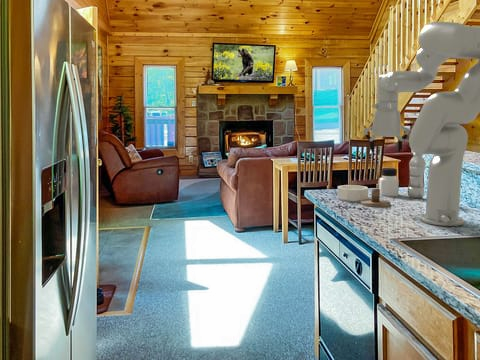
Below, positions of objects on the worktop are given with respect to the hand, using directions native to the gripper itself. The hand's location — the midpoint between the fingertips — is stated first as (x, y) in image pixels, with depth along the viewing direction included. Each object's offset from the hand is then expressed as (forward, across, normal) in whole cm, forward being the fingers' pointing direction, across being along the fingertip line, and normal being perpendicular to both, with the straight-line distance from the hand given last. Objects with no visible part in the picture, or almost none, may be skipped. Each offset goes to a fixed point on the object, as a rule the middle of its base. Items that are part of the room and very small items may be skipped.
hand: (385, 151), depth 157 cm
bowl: (+20, -12, +6) cm, 24 cm away
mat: (+20, -3, -5) cm, 21 cm away
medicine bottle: (+21, +4, +19) cm, 28 cm away
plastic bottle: (+21, +14, +13) cm, 28 cm away
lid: (+20, -3, -5) cm, 21 cm away
